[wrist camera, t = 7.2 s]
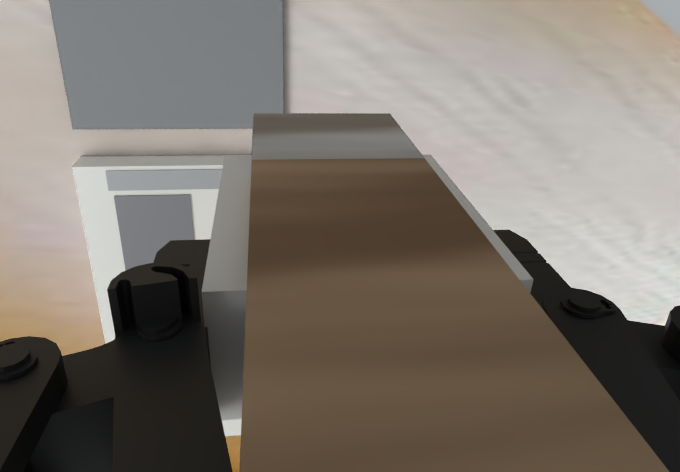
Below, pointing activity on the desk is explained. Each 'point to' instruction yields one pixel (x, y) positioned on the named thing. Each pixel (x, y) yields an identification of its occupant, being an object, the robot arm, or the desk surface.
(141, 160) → the switch board
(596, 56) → the desk surface
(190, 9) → the mat
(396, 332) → the wooden beam block
